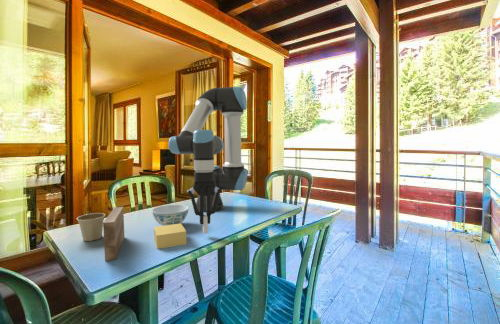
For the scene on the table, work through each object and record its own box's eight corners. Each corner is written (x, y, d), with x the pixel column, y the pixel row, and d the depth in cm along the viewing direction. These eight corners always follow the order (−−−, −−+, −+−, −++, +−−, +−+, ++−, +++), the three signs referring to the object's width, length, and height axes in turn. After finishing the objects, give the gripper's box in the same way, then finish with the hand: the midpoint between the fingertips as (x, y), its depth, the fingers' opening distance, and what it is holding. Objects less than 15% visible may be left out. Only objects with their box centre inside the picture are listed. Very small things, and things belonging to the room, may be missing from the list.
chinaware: (185, 231, 107) (185, 213, 106) (148, 232, 106) (147, 214, 105) (191, 220, 122) (191, 204, 121) (158, 221, 121) (157, 205, 120)
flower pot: (75, 244, 94) (73, 221, 93) (80, 236, 102) (79, 214, 101) (105, 240, 97) (104, 218, 97) (107, 232, 106) (106, 211, 105)
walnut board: (124, 237, 101) (123, 206, 100) (115, 259, 82) (114, 221, 81) (115, 238, 100) (114, 207, 99) (105, 260, 81) (103, 222, 80)
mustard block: (181, 235, 103) (180, 223, 103) (186, 244, 94) (186, 231, 94) (154, 239, 99) (153, 226, 98) (157, 249, 90) (156, 235, 89)
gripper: (219, 169, 104) (219, 227, 106) (185, 170, 100) (186, 230, 102) (223, 171, 97) (224, 233, 99) (187, 172, 93) (188, 237, 95)
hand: (205, 232), depth 100 cm, fingers closed
